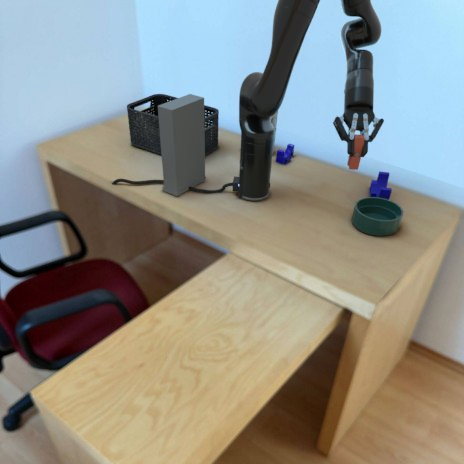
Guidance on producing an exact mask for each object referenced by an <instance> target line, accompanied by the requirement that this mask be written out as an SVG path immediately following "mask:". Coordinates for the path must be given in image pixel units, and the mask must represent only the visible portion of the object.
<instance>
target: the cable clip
mask: <svg viewBox="0 0 464 464" xmlns="http://www.w3.org/2000/svg"><path fill="white" fill-rule="evenodd" d="M389 178H390V172H387V171H378V175H377V179H371V182H370V186H369V197H379V198H384V199H387V200H390V198H391V194H392V191H393V189H392V188H391V187H388V182H389Z"/></svg>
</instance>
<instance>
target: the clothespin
mask: <svg viewBox="0 0 464 464" xmlns="http://www.w3.org/2000/svg"><path fill="white" fill-rule="evenodd" d="M364 140H365V137H364V135H360V134H355V135H354V155H353V157H350V156H349V155H348V158H347V167H348V169H349V170H355V171H356V170H357V171H358V170H359V167H360V163H361V159H362V157H361V153H362V149H363V145H364Z"/></svg>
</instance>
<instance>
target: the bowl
mask: <svg viewBox="0 0 464 464" xmlns="http://www.w3.org/2000/svg"><path fill="white" fill-rule="evenodd" d="M403 217H404V210H403V208H402V207H401V206H400V205H399V204H398V203H397V202H395V201H393V200H390V199H389V200H387V199H384V198H379V197H370V196H367V197H362V198H359V199H358V200H357V201H355V204H354V207H353V211H352V215H351V223H352V225H353V226H354V227H355V228H356V229H357V230H359V231H361V232H363V233H365V234H367V235H370V236H375V237H376V236H377V237H385V236H390V235H392V234H395V233H397V231H398V230H399V228H400V225H401V223H402V219H403Z"/></svg>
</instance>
